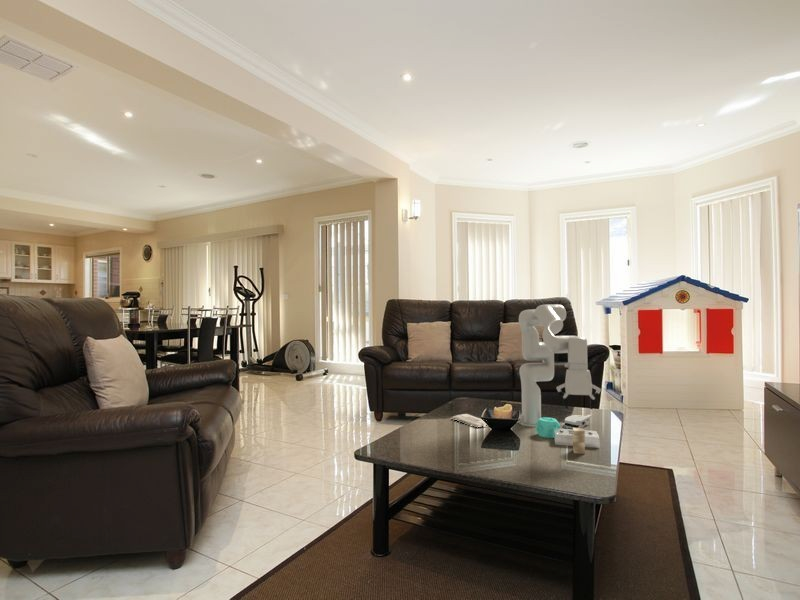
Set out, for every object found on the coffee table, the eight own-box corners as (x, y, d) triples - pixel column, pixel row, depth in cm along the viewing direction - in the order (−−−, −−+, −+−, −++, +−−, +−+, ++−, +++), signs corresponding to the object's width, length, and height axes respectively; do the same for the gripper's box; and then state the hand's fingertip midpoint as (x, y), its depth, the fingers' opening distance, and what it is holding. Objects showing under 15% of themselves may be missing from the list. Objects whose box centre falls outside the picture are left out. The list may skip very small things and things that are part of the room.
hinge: (580, 421, 216) (560, 417, 222) (580, 430, 216) (560, 427, 222) (592, 414, 228) (572, 411, 235) (592, 423, 228) (573, 420, 235)
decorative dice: (547, 439, 202) (546, 422, 202) (535, 435, 210) (535, 418, 210) (560, 437, 205) (560, 420, 205) (549, 433, 213) (548, 416, 213)
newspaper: (449, 420, 239) (449, 416, 239) (468, 417, 244) (467, 413, 244) (475, 431, 219) (475, 426, 219) (494, 427, 224) (494, 422, 224)
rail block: (555, 445, 194) (554, 433, 194) (554, 439, 203) (553, 427, 203) (599, 449, 188) (599, 436, 188) (596, 442, 198) (596, 430, 198)
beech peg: (574, 454, 182) (573, 430, 182) (573, 451, 186) (572, 427, 186) (585, 455, 181) (584, 431, 181) (583, 452, 185) (583, 428, 185)
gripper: (556, 367, 183) (557, 408, 182) (601, 368, 178) (602, 411, 177) (555, 365, 190) (556, 405, 189) (599, 366, 185) (600, 407, 184)
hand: (578, 408), depth 183 cm, fingers open, 9 cm apart
